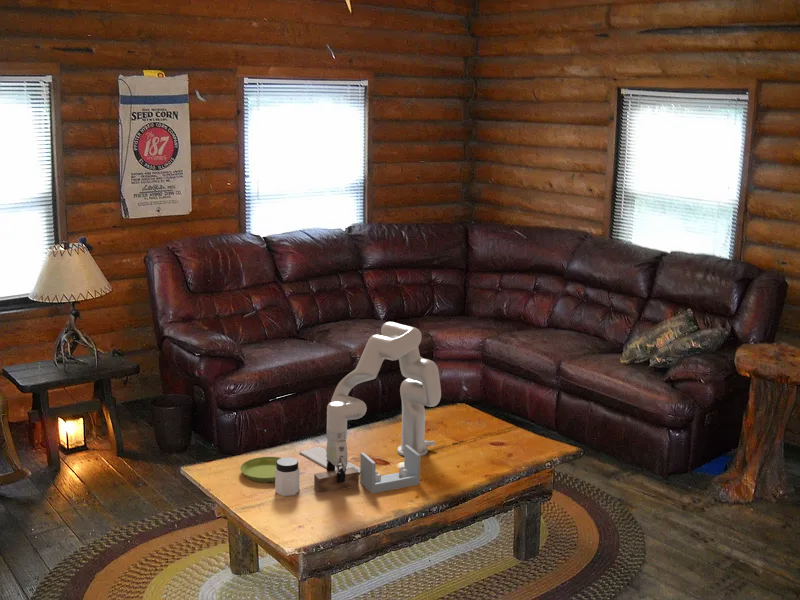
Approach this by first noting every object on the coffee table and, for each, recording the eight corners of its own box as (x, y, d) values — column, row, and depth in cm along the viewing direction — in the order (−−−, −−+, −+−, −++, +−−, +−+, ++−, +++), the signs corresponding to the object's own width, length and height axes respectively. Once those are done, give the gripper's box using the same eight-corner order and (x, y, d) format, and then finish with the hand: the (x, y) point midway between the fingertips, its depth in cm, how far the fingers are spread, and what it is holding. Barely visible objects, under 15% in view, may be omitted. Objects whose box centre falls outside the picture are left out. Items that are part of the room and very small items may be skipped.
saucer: (304, 476, 356) (304, 468, 355) (259, 490, 342) (259, 482, 342) (274, 459, 371) (274, 451, 370) (230, 472, 358) (230, 464, 357)
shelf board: (353, 481, 352) (353, 466, 350) (358, 486, 348) (358, 471, 346) (314, 488, 345) (314, 473, 344) (319, 493, 341) (319, 479, 339)
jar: (276, 497, 337) (276, 466, 334) (274, 487, 344) (274, 457, 342) (300, 495, 339) (300, 465, 336) (298, 485, 346) (298, 456, 344)
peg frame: (406, 473, 360) (407, 444, 357) (419, 484, 350) (420, 455, 347) (360, 482, 351) (360, 452, 348) (372, 493, 341) (372, 463, 339)
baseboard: (323, 448, 384) (299, 455, 377) (323, 441, 384) (299, 448, 376) (368, 472, 361) (344, 480, 354) (369, 465, 361) (344, 473, 353)
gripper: (355, 441, 335) (354, 484, 339) (337, 425, 350) (336, 467, 354) (336, 444, 332) (335, 487, 336) (318, 428, 347) (318, 470, 351)
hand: (335, 477), depth 345 cm, fingers open, 9 cm apart
